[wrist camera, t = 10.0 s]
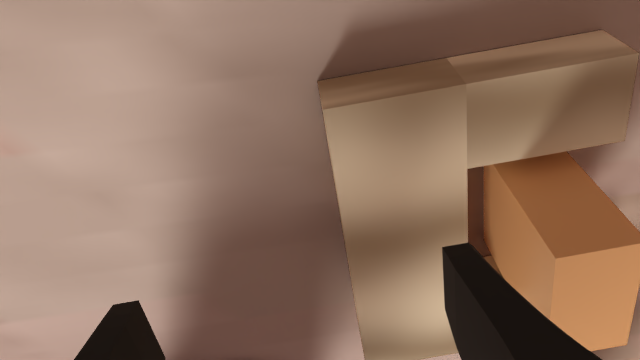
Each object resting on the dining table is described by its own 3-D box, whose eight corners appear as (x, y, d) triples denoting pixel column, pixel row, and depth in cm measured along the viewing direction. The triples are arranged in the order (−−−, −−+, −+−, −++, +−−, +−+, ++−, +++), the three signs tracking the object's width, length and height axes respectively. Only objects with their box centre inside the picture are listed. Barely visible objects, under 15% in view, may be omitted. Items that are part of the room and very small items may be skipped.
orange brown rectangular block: (546, 228, 27) (626, 344, 21) (483, 239, 27) (546, 359, 21) (553, 137, 24) (648, 241, 18) (483, 150, 24) (555, 258, 18)
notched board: (568, 292, 29) (592, 329, 27) (359, 328, 29) (366, 368, 27) (602, 29, 21) (639, 52, 19) (317, 81, 21) (323, 109, 19)
